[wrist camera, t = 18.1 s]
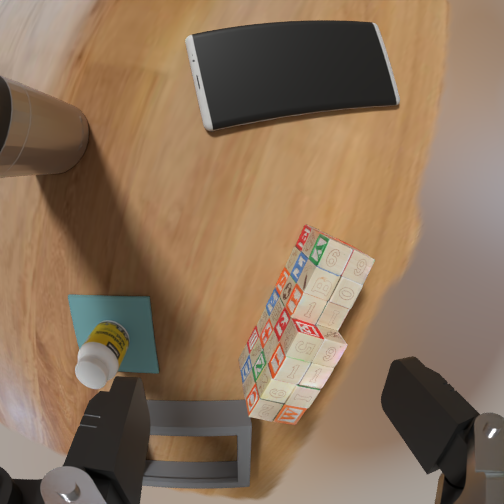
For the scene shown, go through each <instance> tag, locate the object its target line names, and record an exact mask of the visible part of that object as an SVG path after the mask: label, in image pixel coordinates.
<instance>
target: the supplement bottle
mask: <svg viewBox="0 0 504 504" xmlns="http://www.w3.org/2000/svg"><path fill="white" fill-rule="evenodd" d="M129 342H130V339H129V335H128V333H127V331H126V329H125V328H124V327H123V326H122V325H120V324H119V323H117V322H115V321H111V320H105V321H102V322H100V323H99V324H98V325H97V326H96V327H95V328H94V330H93V331H92V332H91V334H90V335H89V337H88V338H87V339H86V341H85V342H84V344H83V345H82V347H81V348H80V350H79V353H78V363H77V365H76V367H75V373H76V376H77V378H78V379H79V381H80V382H81V383H82V384H84V385H85V386H87V387H89V388H92V389H100V388H102V387H104V386H105V384H106V382H107V380H110V379H112V378H113V377H114V376H115V375H116V373H117V371H118V369H119V367H120V365H121V362H122V360H123V358H124V356H125V354H126V351H127V349H128V347H129Z"/></svg>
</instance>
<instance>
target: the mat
mask: <svg viewBox="0 0 504 504" xmlns="http://www.w3.org/2000/svg"><path fill="white" fill-rule="evenodd" d="M68 300H69V305H70V310H71V315H72V320H73V325H74V329H75V334H76V338H77V342H78V346H79V350H80V348H81V347H82V345H83V344H84V342H85V341H86V339H87V338H88V337H89V335H90V334H91V332H92V331H93V330H94V328H95V327H96V326H97V325H98V324H99V323H100V322H102V321H105V320H111V321H115V322H117V323H119V324H120V325H122V326H123V327H124V328H125V329H126V331H127V333H128V335H129V339H130V342H129V347H128V349H127V351H126V354H125V356H124V358H123V360H122V362H121V365H120V367H119V369H118V371H120V372H137V373H159V366H158V360H157V353H156V346H155V338H154V330H153V322H152V313H151V304H150V296H100V295H68Z"/></svg>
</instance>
